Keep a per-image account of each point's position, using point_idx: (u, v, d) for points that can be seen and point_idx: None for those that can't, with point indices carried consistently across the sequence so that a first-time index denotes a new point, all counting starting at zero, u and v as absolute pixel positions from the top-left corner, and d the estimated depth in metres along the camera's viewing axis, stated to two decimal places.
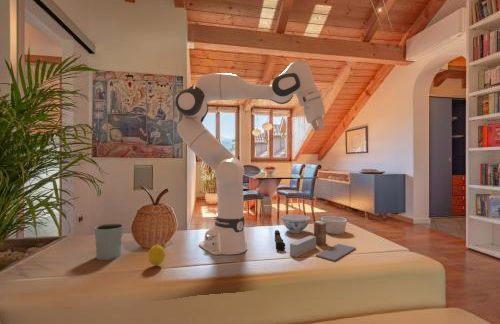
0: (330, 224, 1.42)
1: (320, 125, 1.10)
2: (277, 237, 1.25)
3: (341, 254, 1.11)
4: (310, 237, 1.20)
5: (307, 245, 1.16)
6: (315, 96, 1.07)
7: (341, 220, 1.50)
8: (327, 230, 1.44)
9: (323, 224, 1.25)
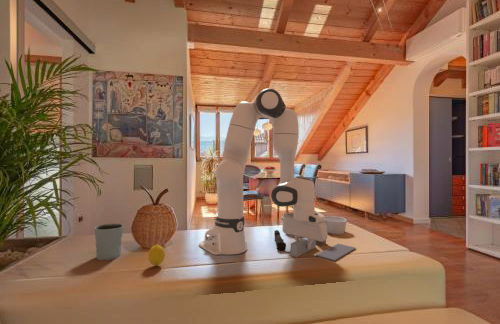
0: (330, 224, 1.42)
1: (309, 245, 1.14)
2: (277, 237, 1.25)
3: (341, 254, 1.11)
4: None
5: None
6: (323, 220, 1.11)
7: (341, 220, 1.50)
8: (327, 230, 1.44)
9: None
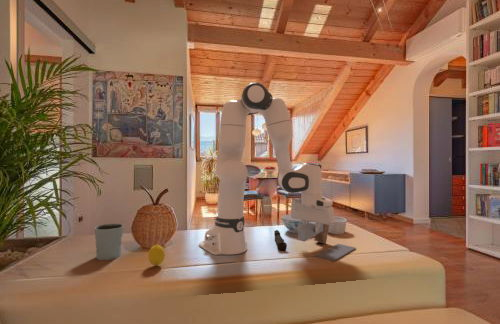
0: None
1: (317, 229, 1.18)
2: (278, 237, 1.25)
3: (341, 254, 1.11)
4: None
5: None
6: (330, 205, 1.15)
7: (341, 220, 1.50)
8: None
9: None
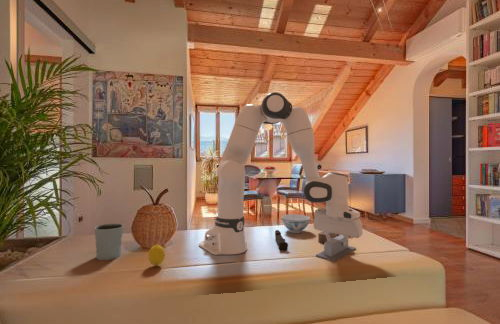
0: None
1: (345, 242, 1.12)
2: (279, 237, 1.25)
3: (341, 254, 1.11)
4: (342, 236, 1.18)
5: (340, 244, 1.14)
6: (358, 216, 1.09)
7: None
8: None
9: (335, 234, 1.33)
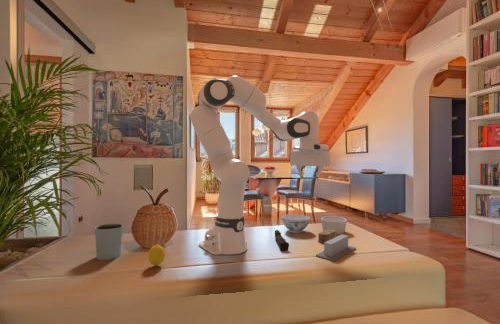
0: (330, 224, 1.42)
1: (319, 173, 1.26)
2: (279, 237, 1.25)
3: (341, 254, 1.11)
4: (342, 236, 1.18)
5: (340, 244, 1.14)
6: (326, 148, 1.24)
7: (341, 220, 1.50)
8: None
9: (335, 234, 1.33)
